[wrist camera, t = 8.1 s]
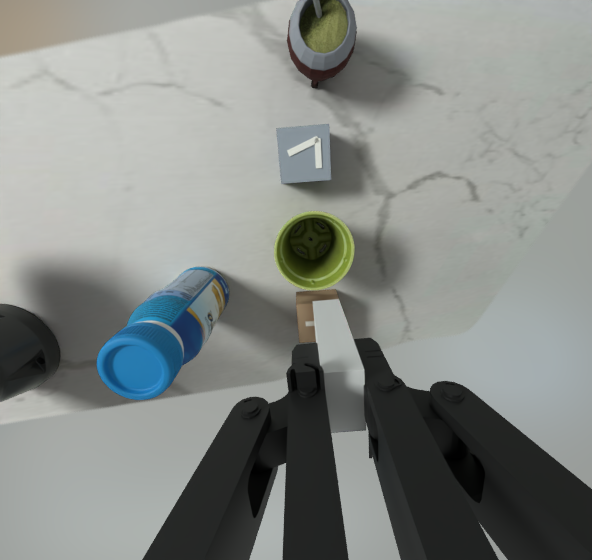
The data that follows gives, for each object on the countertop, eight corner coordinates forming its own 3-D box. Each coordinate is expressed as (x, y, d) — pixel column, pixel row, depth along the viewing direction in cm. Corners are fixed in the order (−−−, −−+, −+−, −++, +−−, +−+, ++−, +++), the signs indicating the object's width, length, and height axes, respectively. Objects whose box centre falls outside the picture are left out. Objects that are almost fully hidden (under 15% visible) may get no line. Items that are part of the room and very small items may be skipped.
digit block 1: (299, 326, 46) (299, 343, 41) (296, 291, 44) (296, 305, 39) (336, 324, 46) (341, 340, 41) (335, 288, 44) (340, 302, 39)
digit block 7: (283, 183, 39) (281, 183, 35) (279, 135, 38) (276, 128, 33) (327, 180, 39) (331, 179, 34) (325, 131, 37) (329, 123, 32)
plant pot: (356, 230, 41) (371, 242, 33) (317, 281, 44) (322, 304, 36) (303, 191, 40) (304, 193, 31) (266, 247, 42) (258, 262, 34)
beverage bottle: (197, 252, 42) (116, 308, 23) (242, 289, 44) (200, 368, 25) (165, 292, 44) (66, 373, 25) (209, 325, 46) (147, 424, 27)
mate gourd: (341, 96, 36) (369, 38, 22) (278, 86, 36) (266, 21, 21) (353, 23, 34) (394, -96, 19) (286, 12, 33) (277, -117, 19)
